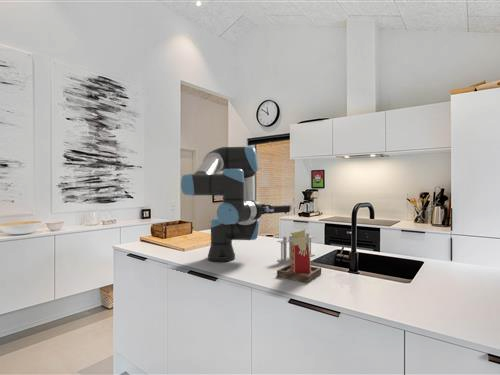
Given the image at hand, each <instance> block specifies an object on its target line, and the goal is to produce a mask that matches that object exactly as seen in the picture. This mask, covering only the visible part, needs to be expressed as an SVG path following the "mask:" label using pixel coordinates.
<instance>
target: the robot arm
mask: <svg viewBox="0 0 500 375" xmlns="http://www.w3.org/2000/svg"><path fill="white" fill-rule="evenodd" d="M256 150H257V149H256V148H255V147H254V146H221V147H218V148H215V149H213V150H211V151H209V152H208V153H207V154H206V155H204V157H203V160H202V163H201V164H200V165H199V167H198V168H197V169H196V170H195V172H194V173H189V174H184V175H182V177H181V179H180V189H181V192H182V194H183V195H185V196H191V197H193V196H194V197H195V196H222V203H220V204H219V206H218V207H217V209H216V217H214V218H212V219H211V221H210V248H209V250H208V254H207V260H208V261H211V262H214V263H225V262H230V261H234V260H235V259H236V254H235V250H234V247H233V243H232V242H233V241H256V240H257V238H258V234H259V227H260V218H261V217H262V215H267V214H269V215H271V214H283V213H284V214H285V215H286V214H287V213H290V212H291V211H293V204H291V203H289V204H288V203H287V204H283V205H271V204H266V202H260V201H258V200H256V199H254V188H253V187H254V186H253V185H254V184H253V183H254V182H253V180H254V179H253V177H254V176H255V175H256V172H258V171H259V161H258V154H257V153H258V152H257V151H256ZM220 172H222V173H220Z"/></svg>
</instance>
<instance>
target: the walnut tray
mask: <svg viewBox="0 0 500 375" xmlns="http://www.w3.org/2000/svg"><path fill="white" fill-rule="evenodd" d="M290 268H291V266H290V263H289V264H287V265H285V266H283V267H282V268H281V267H280V268H279V269H277V270H276V277H278V278H282V279H288V280H291V281H292V280H293V281H297V282H302V283H306V284H308V283H310V282H311V281H313V280H314V279H316V278H317V277H319V276H320V275H321V274H322V267H318V266H313V265H311V273H310V274H308V275H307V276H306V275H301V274H296V273H291V272H290Z"/></svg>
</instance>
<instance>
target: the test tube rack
mask: <svg viewBox="0 0 500 375" xmlns="http://www.w3.org/2000/svg"><path fill="white" fill-rule="evenodd" d="M305 235H306V239H307V243H308V247H309V252H310V258H311V257H315V255H316V254H314V253H312V239H315V236H312V235H310V233H309V232H305ZM277 243H280V259H277V260H276V262H279V263H282V264H285V263H290V258H291V244H292V235H289V238H287V236H283V237H282V239H281V240H277ZM287 243H288V245H287ZM287 246H289V248H288V247H287ZM287 248H288V249H287ZM287 250H288V251H289V253H288V254H287ZM287 255H288V257H287Z"/></svg>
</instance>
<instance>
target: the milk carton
mask: <svg viewBox="0 0 500 375" xmlns="http://www.w3.org/2000/svg"><path fill="white" fill-rule="evenodd" d="M289 234H290V236H292V244H291V258H290V261H289V264H290V266H291V268H290V272H291V273H296V274H301V275H306V276H307V275H308V274H310V273H311V266H312V262H311V257H310V246H309V247H308V243H307V239H306V229H305V228H304V229H301V230H299V231H293V232H290V233H289Z"/></svg>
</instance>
